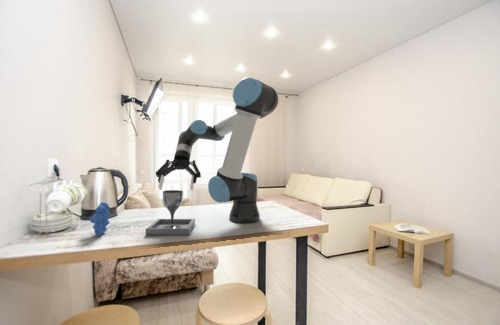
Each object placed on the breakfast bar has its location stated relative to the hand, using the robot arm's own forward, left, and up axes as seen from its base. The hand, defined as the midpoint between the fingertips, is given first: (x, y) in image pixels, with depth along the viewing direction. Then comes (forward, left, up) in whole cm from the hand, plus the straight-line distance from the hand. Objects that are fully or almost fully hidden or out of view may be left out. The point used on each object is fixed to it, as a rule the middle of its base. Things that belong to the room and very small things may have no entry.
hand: (175, 188), depth 100 cm
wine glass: (0, +7, -16) cm, 17 cm away
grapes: (+25, +12, -17) cm, 33 cm away
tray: (-1, +7, -16) cm, 18 cm away
